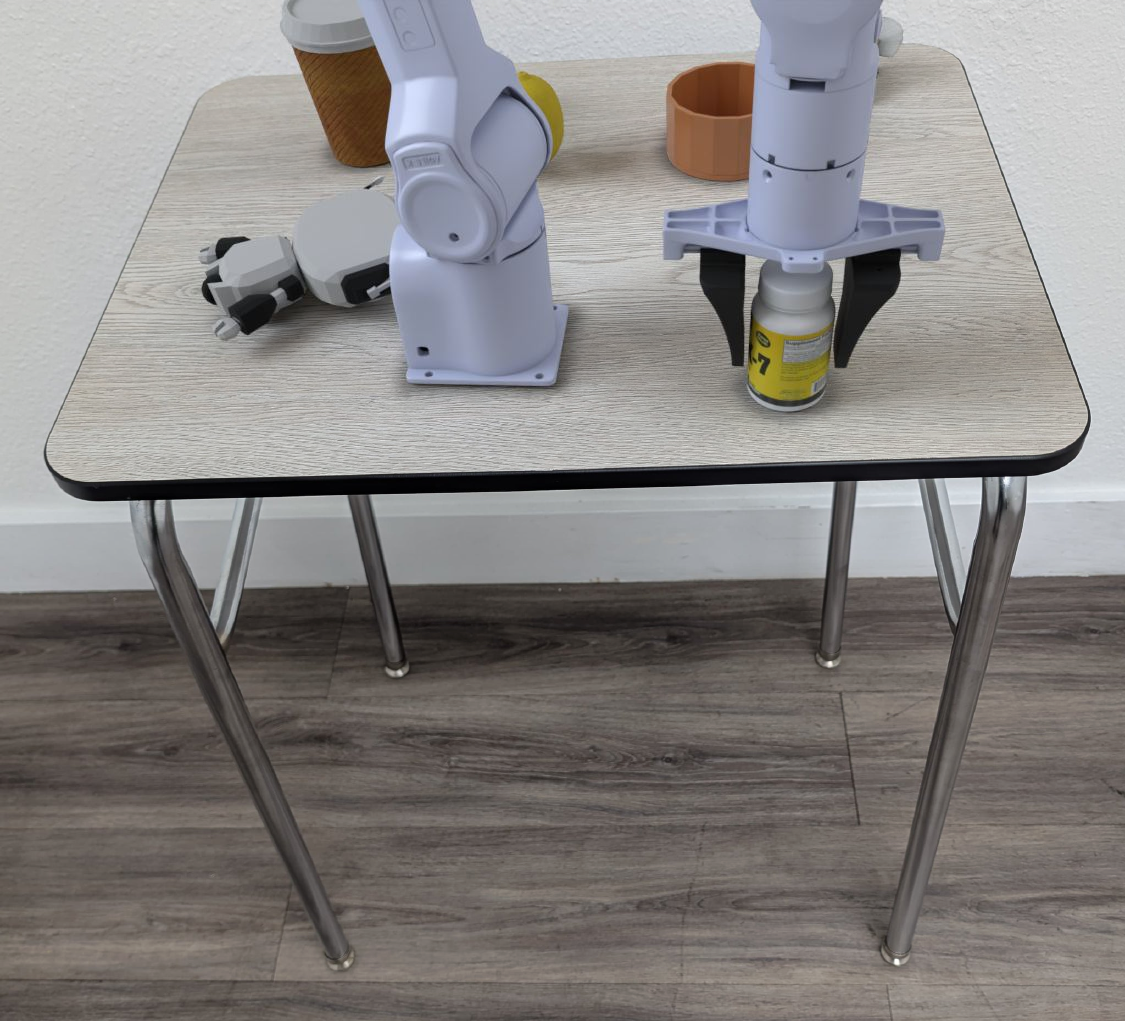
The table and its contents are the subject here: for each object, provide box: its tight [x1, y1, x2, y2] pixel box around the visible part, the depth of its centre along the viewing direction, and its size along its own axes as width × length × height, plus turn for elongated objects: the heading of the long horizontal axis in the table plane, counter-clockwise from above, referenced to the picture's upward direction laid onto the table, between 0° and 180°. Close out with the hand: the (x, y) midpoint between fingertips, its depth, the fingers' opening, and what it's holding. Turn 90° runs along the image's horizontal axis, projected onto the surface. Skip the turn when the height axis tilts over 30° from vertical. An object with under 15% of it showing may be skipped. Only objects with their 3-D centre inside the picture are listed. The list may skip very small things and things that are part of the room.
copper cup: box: [665, 61, 755, 182], centre depth 85 cm, size 9×9×5 cm
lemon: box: [516, 70, 565, 163], centre depth 84 cm, size 6×6×8 cm
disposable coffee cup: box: [279, 0, 392, 168], centre depth 87 cm, size 10×10×12 cm
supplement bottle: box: [746, 259, 837, 412], centre depth 64 cm, size 5×5×8 cm
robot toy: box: [197, 175, 401, 342], centre depth 76 cm, size 12×4×15 cm
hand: (788, 356), depth 65 cm, fingers open, 5 cm apart
